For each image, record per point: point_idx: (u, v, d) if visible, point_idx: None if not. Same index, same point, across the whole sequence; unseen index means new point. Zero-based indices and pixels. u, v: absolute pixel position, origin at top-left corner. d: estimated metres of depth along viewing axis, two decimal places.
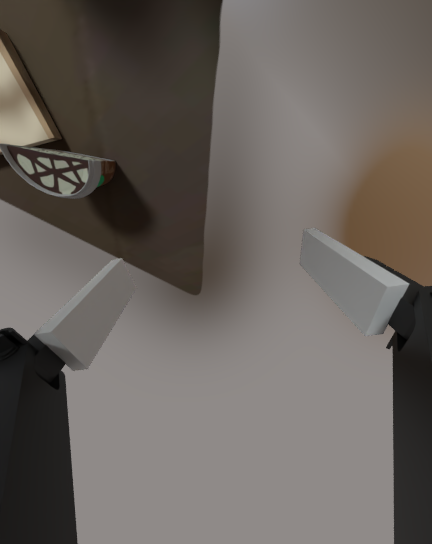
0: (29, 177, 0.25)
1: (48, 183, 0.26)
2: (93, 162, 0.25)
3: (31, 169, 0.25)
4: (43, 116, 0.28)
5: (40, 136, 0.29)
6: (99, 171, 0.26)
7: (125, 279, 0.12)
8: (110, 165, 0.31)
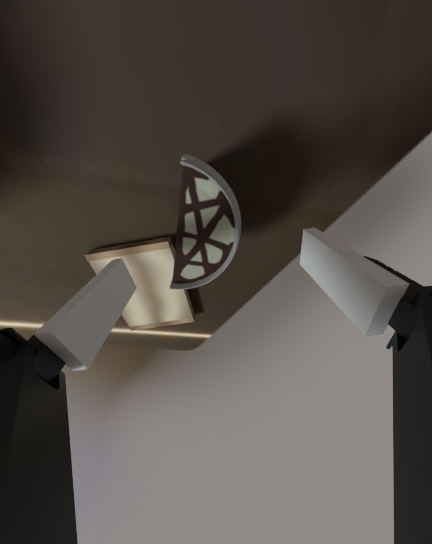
0: (208, 275, 0.18)
1: (217, 255, 0.17)
2: (184, 158, 0.12)
3: (198, 268, 0.17)
4: (148, 244, 0.24)
5: (169, 255, 0.25)
6: (200, 161, 0.13)
7: (125, 279, 0.12)
8: None
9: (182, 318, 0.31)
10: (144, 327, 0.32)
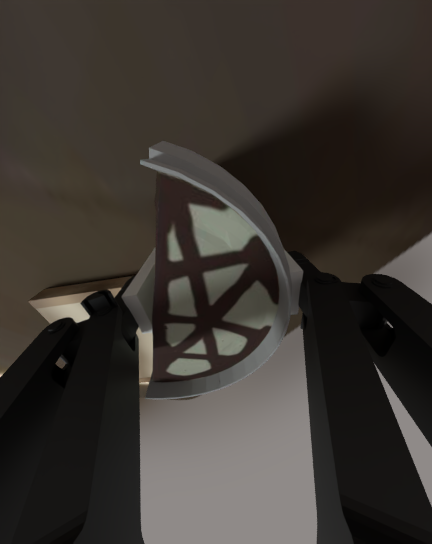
0: (217, 371, 0.10)
1: (236, 344, 0.09)
2: (158, 153, 0.04)
3: (199, 362, 0.09)
4: None
5: None
6: (205, 160, 0.05)
7: None
8: None
9: None
10: None
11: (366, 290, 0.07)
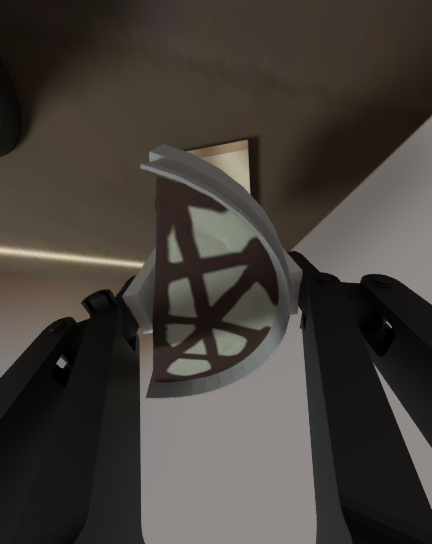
0: (217, 371, 0.10)
1: (235, 344, 0.09)
2: (158, 156, 0.04)
3: (199, 362, 0.09)
4: None
5: (244, 160, 0.23)
6: (204, 163, 0.05)
7: None
8: None
9: None
10: None
11: (365, 290, 0.07)
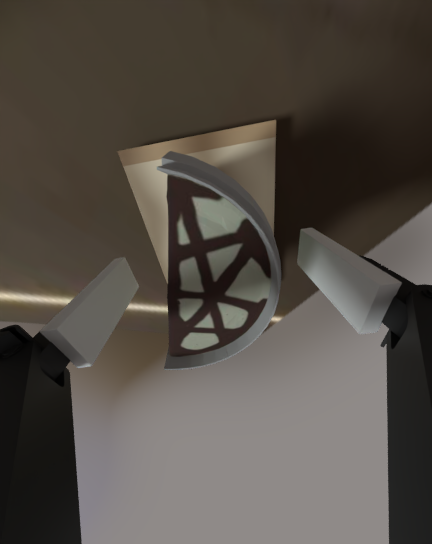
0: (225, 344, 0.11)
1: (238, 317, 0.10)
2: (168, 160, 0.06)
3: (208, 336, 0.11)
4: (238, 127, 0.13)
5: (268, 156, 0.14)
6: (203, 163, 0.07)
7: (128, 278, 0.13)
8: None
9: None
10: None
11: None
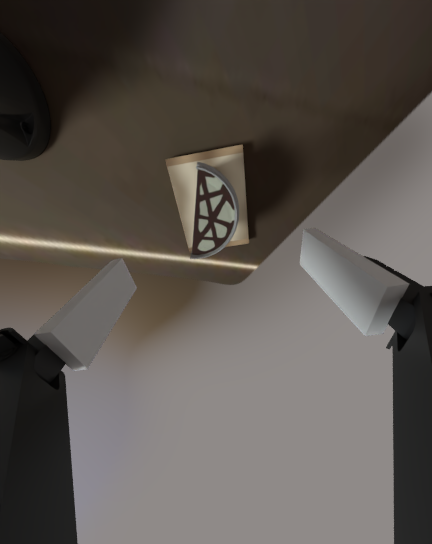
0: (217, 247, 0.25)
1: (223, 231, 0.23)
2: (198, 165, 0.19)
3: (210, 242, 0.24)
4: (224, 148, 0.26)
5: (240, 161, 0.27)
6: (208, 165, 0.20)
7: (125, 279, 0.12)
8: None
9: (238, 238, 0.34)
10: None
11: None
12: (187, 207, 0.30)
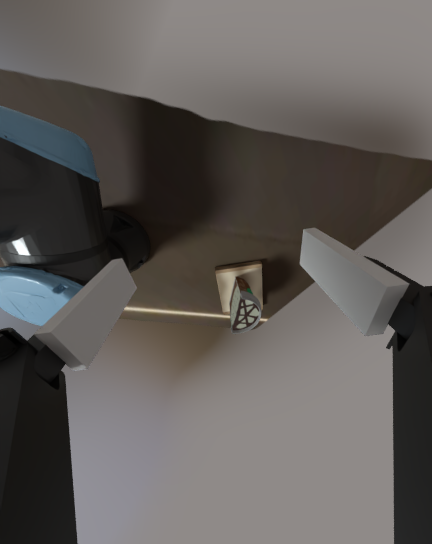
0: (247, 326, 0.43)
1: (251, 319, 0.42)
2: (242, 295, 0.37)
3: (244, 324, 0.42)
4: (250, 265, 0.44)
5: (259, 271, 0.45)
6: (246, 293, 0.38)
7: (125, 279, 0.12)
8: (239, 281, 0.44)
9: None
10: None
11: None
12: (225, 292, 0.48)
